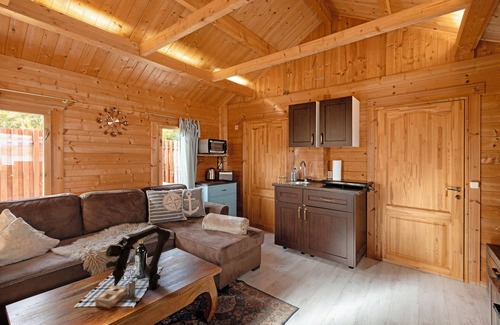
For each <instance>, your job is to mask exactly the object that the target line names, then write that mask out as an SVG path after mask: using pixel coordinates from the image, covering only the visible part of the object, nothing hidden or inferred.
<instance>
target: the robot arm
mask: <svg viewBox="0 0 500 325" xmlns="http://www.w3.org/2000/svg"><path fill="white" fill-rule="evenodd" d="M153 234H157V244H156V246H155V249H154V252H153V254H152V257H151V259H150V260H151V261H150V263H149V264H146V265H145V268H144V270H143V274H144V276H145V277H146V278H147V279H148V286H147V287H146V289H147V290H152V291H156V290H157V289H158V288H159V287H160V286H161V284H160V283H159V280H160V279H161V275H160V274H158V271H159V261H160V259H161V256H162V253H163V250H164V247H165V244H167V242H168V241H169V240H170V237H171V231H170V230H167V229H164V228H160V227H159V226H157V225H153V226H151V227H149V228H146V229H144V230H141V231H139V232H137V233H136V232H135V233H129V234H125V235H123V237H122V239H120V241H119V242H117V244H109V246H108V247H107V249H106V251H105V256H106V258H114V257H115V258H117V259H112V260H107V261H106V262H105V267H106V269H110V268H114V269H113V270H112V273H111V275H112V276H113V277H114V278H113V280H114V281H113V286H118V283H119V282H121V279H122V278H123V277H124V276H125V272H126V271H127V268H128V265H129V264H128V261H129V259H130V255H131V252H132V250H135V247H134V245H135V244H136V243H138V242H139V241H140V240H143V239H145V238H147V237H149V236H151V235H153Z"/></svg>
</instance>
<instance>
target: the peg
mask: <svg viewBox="0 0 500 325" xmlns="http://www.w3.org/2000/svg"><path fill="white" fill-rule="evenodd" d="M127 284H128V287H127V288H128V296H127V297H128V298H127V299H128V300H129V299H130V301H131V300H134V299H135V298H136V281H135V280H129V281H128V283H127Z"/></svg>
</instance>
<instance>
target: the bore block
mask: <svg viewBox="0 0 500 325" xmlns="http://www.w3.org/2000/svg"><path fill="white" fill-rule="evenodd" d="M127 295H128V287H126V286H118V285H116V286H114V285H113V286H112V287H110V288H109V289H107V290H106V291H104V292H103V293H102V294H100V295H99V296H98V297H96V298H95V299H94V300H95V303H94V304H95V307H97V308H103V309H109V310H110V309H111V308H113V307H114V306H116V305H117V304H118V303H119V302H120V301H122V300H123V299H124V298H125V297H127Z"/></svg>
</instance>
